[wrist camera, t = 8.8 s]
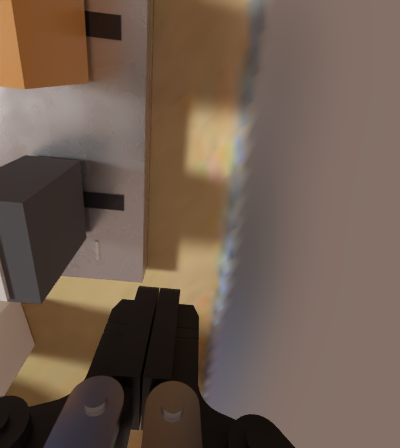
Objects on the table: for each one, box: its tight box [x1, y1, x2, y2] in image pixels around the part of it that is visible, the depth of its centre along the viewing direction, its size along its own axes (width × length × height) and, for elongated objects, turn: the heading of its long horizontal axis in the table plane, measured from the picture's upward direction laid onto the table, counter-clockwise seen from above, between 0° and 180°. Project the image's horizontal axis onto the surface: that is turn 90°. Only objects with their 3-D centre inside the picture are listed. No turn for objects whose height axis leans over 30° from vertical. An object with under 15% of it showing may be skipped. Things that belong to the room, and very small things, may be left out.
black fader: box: [0, 155, 87, 304], centre depth 15 cm, size 5×3×6 cm, turn 174°
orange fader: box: [0, 0, 89, 89], centre depth 11 cm, size 5×3×6 cm, turn 174°
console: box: [0, 0, 154, 282], centre depth 16 cm, size 22×16×2 cm
